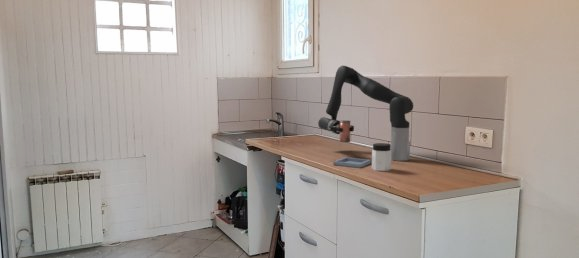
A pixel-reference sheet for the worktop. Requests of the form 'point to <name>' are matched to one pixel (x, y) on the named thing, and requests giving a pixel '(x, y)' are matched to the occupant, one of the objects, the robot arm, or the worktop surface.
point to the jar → (381, 157)
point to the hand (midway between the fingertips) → (346, 129)
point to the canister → (345, 131)
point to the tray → (352, 162)
